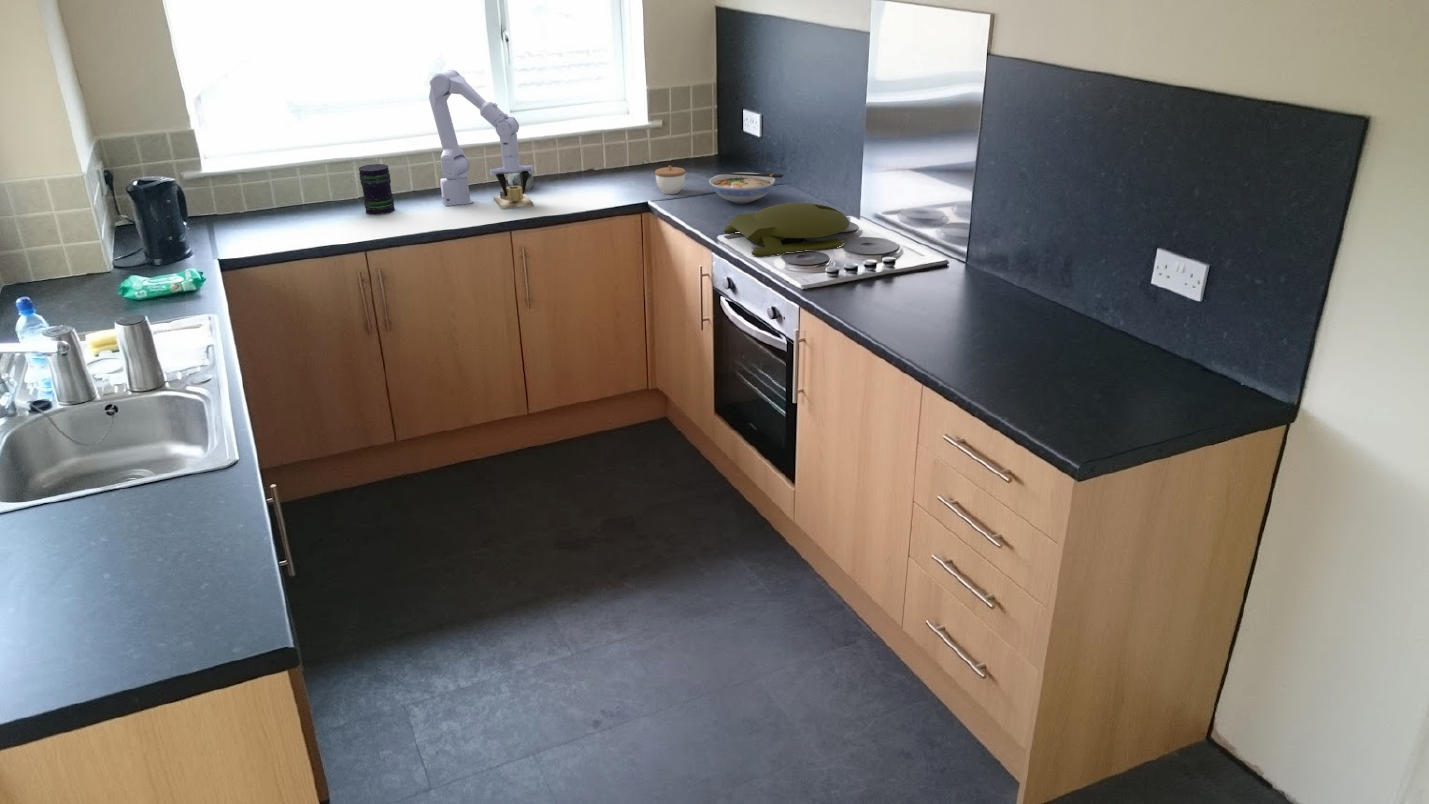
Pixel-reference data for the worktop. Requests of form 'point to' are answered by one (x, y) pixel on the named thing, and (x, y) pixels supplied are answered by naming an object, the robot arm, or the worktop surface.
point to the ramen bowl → (742, 186)
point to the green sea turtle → (790, 227)
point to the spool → (515, 180)
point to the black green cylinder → (376, 189)
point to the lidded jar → (670, 179)
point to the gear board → (505, 203)
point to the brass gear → (514, 193)
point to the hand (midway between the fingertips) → (514, 194)
